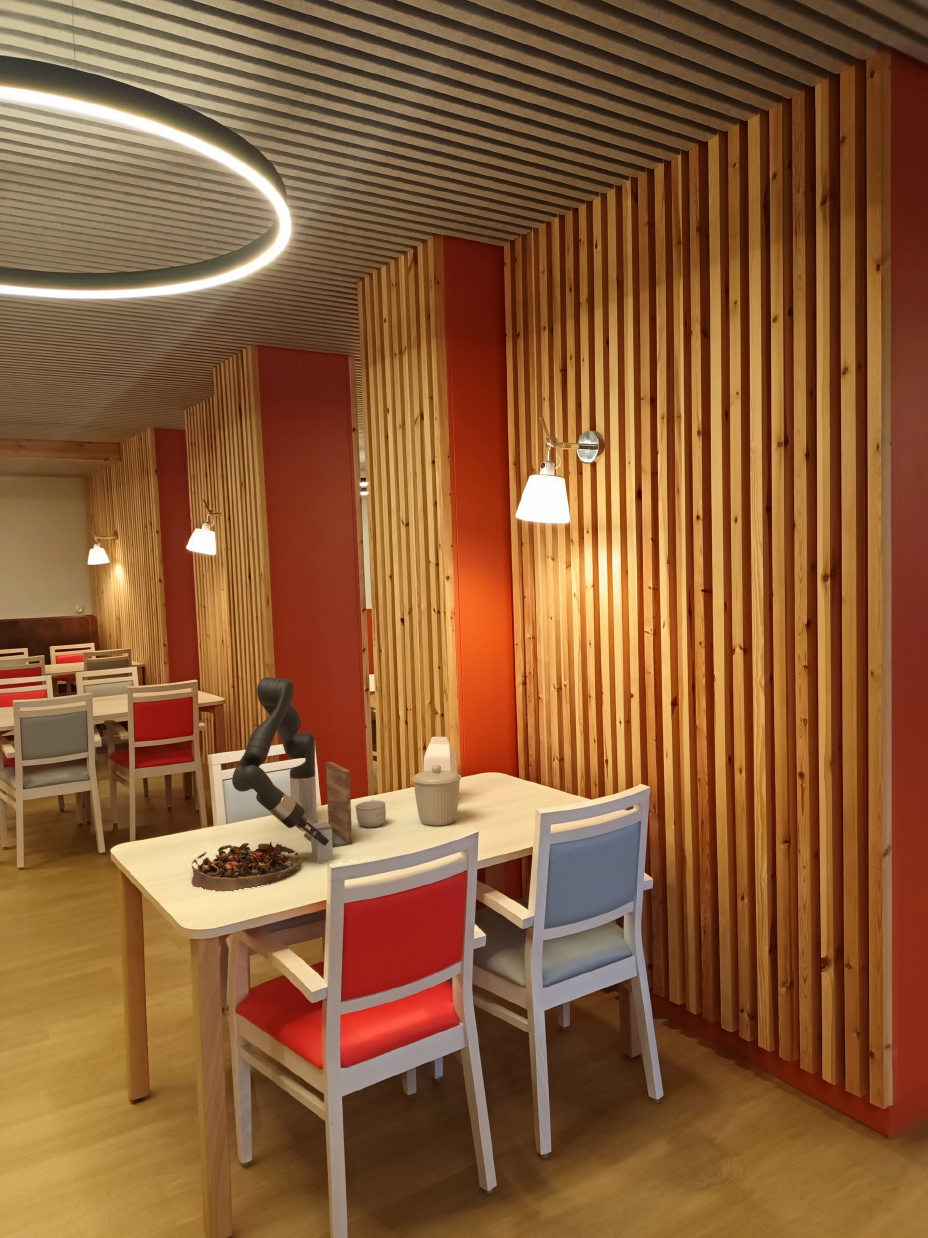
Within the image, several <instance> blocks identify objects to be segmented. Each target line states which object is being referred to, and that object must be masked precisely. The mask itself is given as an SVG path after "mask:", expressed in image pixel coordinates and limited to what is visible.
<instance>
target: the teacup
mask: <svg viewBox="0 0 928 1238" xmlns="http://www.w3.org/2000/svg"><path fill="white" fill-rule="evenodd" d="M354 807H355V813H356V819H357V823H358V824H359V825H361V826H362V827H364V828H376V827H379V826H381V825H382V824H383V823H384V822H385V821H386V817H387V811H386V810H387V809H386V802H385V801H384V800H378V799H371V800H366V801H361V802H358V803H357V804H356V805H355V806H354Z"/></svg>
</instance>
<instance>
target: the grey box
mask: <svg viewBox="0 0 928 1238" xmlns="http://www.w3.org/2000/svg"><path fill="white" fill-rule="evenodd" d="M313 825H314V826H315V827H316V828H317V830H318V831H319V832H321V833H322V835H323V836H324V837H326V838H327V839H328V840H329V842H328V843H327V845H326V846H324V845H323V844H321V843H320V842H319V841H318V840H315V839H314V837H312V836H311V846H310V847H311V859H313V860H314V861H315V862H316V863H323V862H330V861H333V860H334V854H333V852H334V851H333V850H334V849H333V848H332V826H331V825H330V824H328V822H327V821H320V822H316V823H313ZM317 833H318V832H316V831H315V832H314V833H313V835H314V836H315V835H316V834H317Z"/></svg>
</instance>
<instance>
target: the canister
mask: <svg viewBox="0 0 928 1238" xmlns="http://www.w3.org/2000/svg"><path fill="white" fill-rule="evenodd" d="M431 769H432V770H429V771H424V770H423V771H420V772H418V773H416V774H415V775H414V776H412V777H411V781H412V782H413V788H414V794H415V802H416V808H417V813H418V814H417V815H418V818H419V821H420V822H421V823H422V824H424V825H426V826H436V827H439V826H444V825H445V826H446V825H449V824H452V823H454V822H455V820H456V818H457V816H458V809H459V808H458V807H459V806H458V805H459V801H458V798H459V797H460V781H461V779H462V775H461V774H459V773H458V772H457V773H458V774H457V773H456V772H453V771H449V770H441V766H440V765H433V766H432V768H431Z"/></svg>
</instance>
